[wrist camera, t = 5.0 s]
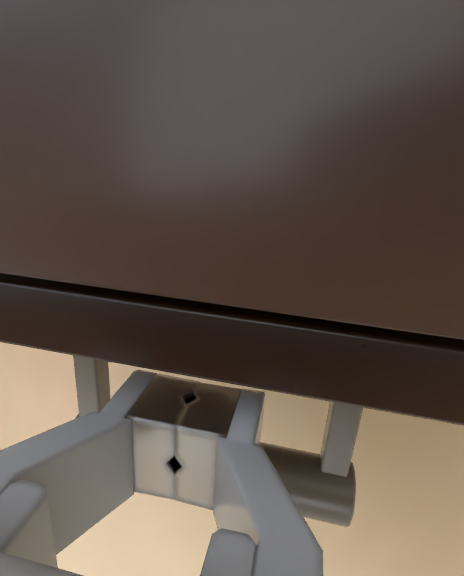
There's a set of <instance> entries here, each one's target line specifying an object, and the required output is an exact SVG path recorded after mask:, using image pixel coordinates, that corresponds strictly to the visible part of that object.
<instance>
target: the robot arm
mask: <svg viewBox="0 0 464 576" xmlns="http://www.w3.org/2000/svg"><path fill="white" fill-rule="evenodd" d="M264 403H265V393H264V392H261V391H254V390H247V389H237V388H231V387H225V386H219V385H213V384H207V383H201V382H198V381H193V380H188V379H183V378H178V377H173V376H168V375H163V374H157V373H153V372H148V371H142V370H137V371H134V372H133V373H132V374H131V375H130V377H129V378H128V379H127V380H126V381H125V383H124V384H123V385H122V386H121V387H120V389H119V390H118V391H117V392H116V393H115V395H114V396H113V397H112V398H111V399H110V401H109V402H108V403H107V404H106V405H105V407H104V408H103V409H102V410H101V411H100V413H99V412H94V411H93V412H91V413H88V414H86V415H83V416H81V417H79V418H76V419H74V420H72V421H69V422H67V423H65V424H62V425H60V426H57V427H55V428H53V429H50V430H48V431H46V432H43V433H41V434H38V435H36V436H34V437H31V438H29V439H27V440H24V441H22V442H20V443H17V444H15V445H12V446H10V447H8V448H5V449H3V450H1V451H0V576H83V575H79V574H76V573H72V572H69V571H65V570H62V569H58V566H57V559H56V555H57V554H58V553H59V552H60V551H62V550H63V549H64V548H65V547H67V546H68V545H69V544H71V543H72V542H73V541H74V540H76V539H77V538H78V537H80V536H81V535H82V534H83V533H85V532H86V531H87V530H88V529H90V528H91V527H92V526H94V525H95V524H96V523H97V522H99V521H100V520H101V519H102V518H104V517H105V516H106V515H108V514H109V513H110V512H111V511H113V510H114V509H115V508H117V507H118V506H119V505H120V504H122V503H123V502H124V501H125V500H127V499H128V498H129V497H131V496H132V495H133V494H134V492H139V493H144V494H149V495H154V496H159V497H163V498H168V499H173V500H177V501H181V502H184V503H188V504H192V505H196V506H199V507H203V508H207V509H210V510H213V513H214V517H215V521H216V524H217V528H218V531H216V532H215V533H213V534H212V536H211V540H210V543H209V547H208V550H207V554H206V557H205V560H204V564H203V567H202V571H201V574H200V576H323V551H322V549H321V547H320V545H319V544H318V542H317V540H316V538H315V537H314V535H313V533H312V532H311V530H310V528H309V526H308V525H307V523H306V521H305V519H304V518H303V516H302V514H301V513H300V511H299V509H298V507H297V506H296V504H295V502H294V501H293V499H292V497H291V495H290V494H289V492H288V490H287V488H286V487H285V485H284V483H283V482H282V480H281V478H280V476H279V475H278V473H277V471H276V469H275V468H274V466H273V464H272V463H271V461H270V459H269V457H268V456H267V454H266V452H265V450H264V449H263V447H262V446H261V445H260V437H261V429H262V420H263V412H264Z"/></svg>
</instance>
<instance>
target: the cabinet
mask: <svg viewBox="0 0 464 576" xmlns="http://www.w3.org/2000/svg"><path fill="white" fill-rule="evenodd" d="M0 273H5V274H12V275H19V276H26V277H33V278H39V279H46V280H53V281H60V282H67V283H74V284H81V285H88V286H95V287H102V288H109V289H116V290H123V291H130V292H137V293H144V294H150V295H157V296H164V297H171V298H178V299H185V300H192V301H199V302H206V303H213V304H220V305H227V306H234V307H241V308H248V309H255V310H262V311H268V312H275V313H282V314H289V315H296V316H303V317H310V318H317V319H324V320H331V321H338V322H345V323H352V324H359V325H366V326H373V327H379V328H386V329H393V330H400V331H407V332H414V333H421V334H428V335H435V336H442V337H449V338H456V339H463V340H464V0H0Z"/></svg>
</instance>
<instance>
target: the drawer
mask: <svg viewBox="0 0 464 576" xmlns="http://www.w3.org/2000/svg"><path fill="white" fill-rule="evenodd" d="M0 342H4V343H9V344H15V345H20V346H26V347H32V348H37V349H43V350H48V351H54V352H59V353H65V354H70V355H73V357H74V367H75V377H76V387H77V397H78V407H79V414H78V415H77V417H76V418H79V417H81V416H83V415H86V414H88V413H91V412H93V411H94V412H99V413H100V411H101V410H102V409H103V408H104V407H105V405H106V404H107V403H108V402H109V401H110V384H109V368H108V361H109V362H115V363H120V364H126V365H131V366H137V367H142V368H148V369H153V370H159V371H164V372H170V373H176V374H181V375H187V376H192V377H198V378H203V379H209V380H214V381H220V382H225V383H231V384H236V385H242V386H248V387H253V388H259V389H264V390H270V391H275V392H281V393H286V394H292V395H297V396H303V397H308V398H314V399H320V400H325V401H330V405H329V411H328V416H327V421H326V426H325V432H324V437H323V442H322V448H321V453H320V454H316V453H311V452H306V451H301V450H296V449H291V448H286V447H281V446H277V445H272V444H267V443H262V442H260V445H261V446H262V447H263V449H264V450H265V452H266V454H267V456H268V457H269V459H270V461H271V463H272V464H273V466H274V468H275V469H276V471H277V473H278V475H279V476H280V478H281V480H282V482H283V483H284V485H285V487H286V488H287V490H288V492H289V494H290V495H291V497H292V499H293V501H294V502H295V504H296V506H297V507H298V509H299V511H300V513H301V514H302V516H303V517H306V518H310V519H314V520H318V521H323V522H327V523H331V524H335V525H340V526H344V527H348V526H349V525H350V523H351V520H352V517H353V512H354V505H355V493H356V479H355V469H354V465H353V463H352V462H351V458H352V454H353V450H354V445H355V441H356V436H357V432H358V428H359V423H360V419H361V414H362V410H363V407H364V408H369V409H375V410H380V411H386V412H392V413H397V414H403V415H408V416H414V417H419V418H425V419H430V420H436V421H441V422H447V423H452V424H458V425H464V340H463V339H456V338H449V337H442V336H435V335H428V334H421V333H414V332H407V331H400V330H393V329H386V328H379V327H373V326H366V325H359V324H352V323H345V322H338V321H331V320H324V319H317V318H310V317H303V316H296V315H289V314H282V313H275V312H268V311H262V310H255V309H248V308H241V307H234V306H227V305H220V304H213V303H206V302H199V301H192V300H185V299H178V298H171V297H164V296H157V295H150V294H144V293H137V292H130V291H123V290H116V289H109V288H102V287H95V286H88V285H81V284H74V283H67V282H60V281H53V280H46V279H39V278H33V277H26V276H19V275H12V274H5V273H0ZM76 418H75V419H76Z"/></svg>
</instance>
